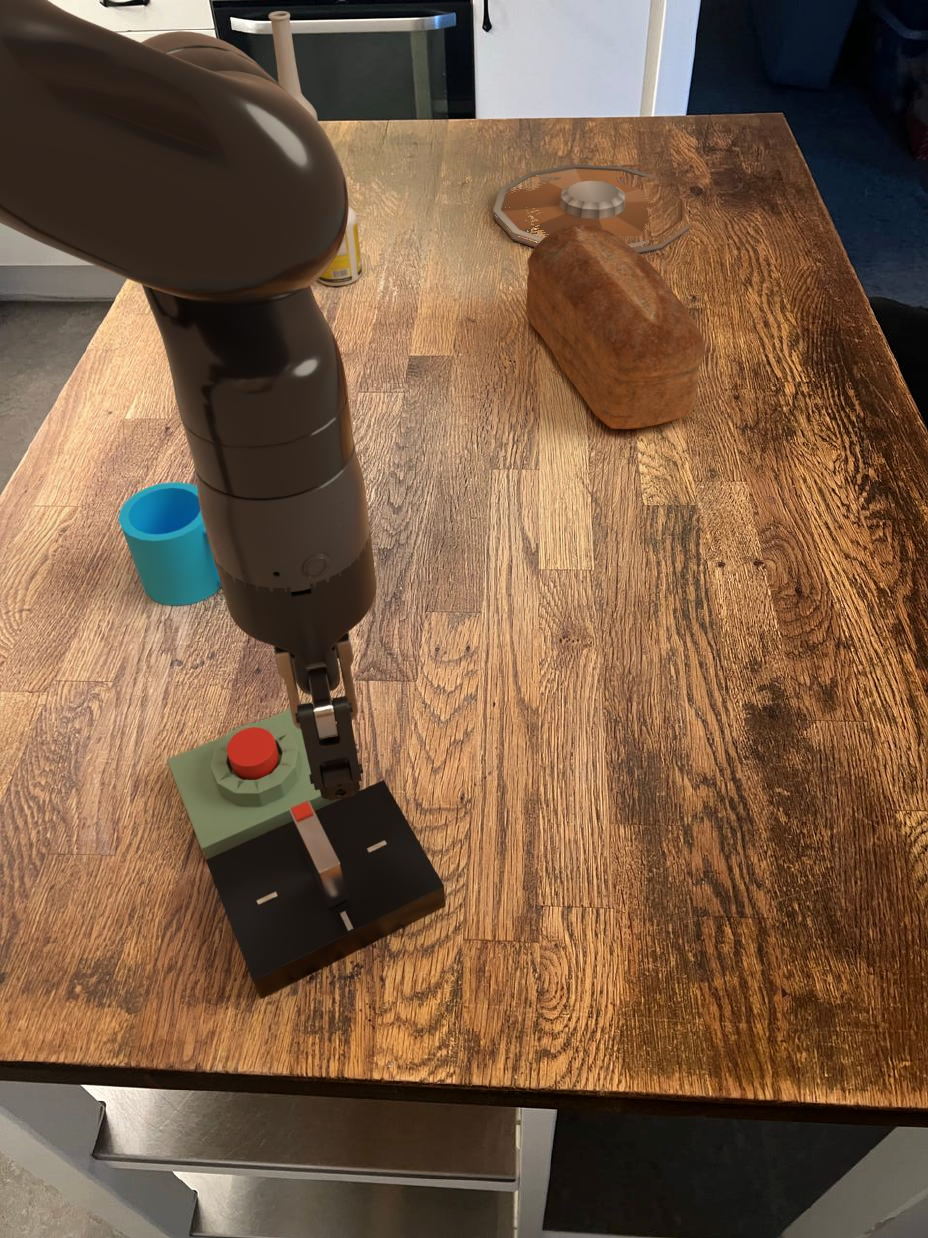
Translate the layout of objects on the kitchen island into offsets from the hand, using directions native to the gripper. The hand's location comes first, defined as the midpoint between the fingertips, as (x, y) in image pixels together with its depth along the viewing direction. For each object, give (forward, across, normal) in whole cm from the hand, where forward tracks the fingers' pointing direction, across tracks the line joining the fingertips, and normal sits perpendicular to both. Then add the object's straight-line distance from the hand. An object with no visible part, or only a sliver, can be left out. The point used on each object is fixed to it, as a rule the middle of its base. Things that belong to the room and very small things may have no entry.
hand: (330, 732), depth 57 cm
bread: (+18, -60, +40) cm, 74 cm away
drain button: (+14, -10, -6) cm, 19 cm away
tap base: (+18, 0, -2) cm, 18 cm away
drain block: (+18, -10, -6) cm, 21 cm away
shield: (+18, -101, +52) cm, 115 cm away
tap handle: (+15, +1, -2) cm, 15 cm away
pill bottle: (+18, -91, +12) cm, 94 cm away
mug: (+18, -35, -10) cm, 40 cm away
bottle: (+18, -107, +10) cm, 109 cm away
